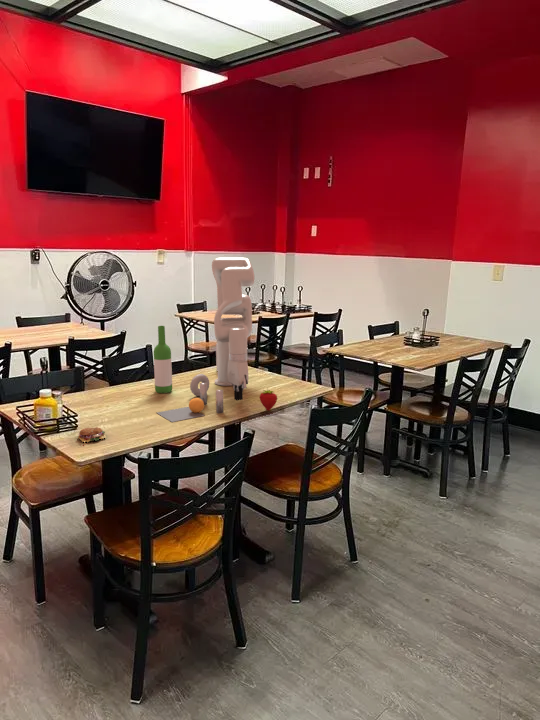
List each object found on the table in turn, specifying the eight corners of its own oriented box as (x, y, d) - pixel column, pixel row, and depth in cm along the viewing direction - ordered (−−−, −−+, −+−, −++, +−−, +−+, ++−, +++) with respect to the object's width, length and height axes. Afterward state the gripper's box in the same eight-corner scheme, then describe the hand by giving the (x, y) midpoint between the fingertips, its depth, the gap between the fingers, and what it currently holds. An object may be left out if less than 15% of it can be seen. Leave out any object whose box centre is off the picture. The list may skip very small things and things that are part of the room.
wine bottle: (174, 389, 246) (172, 325, 240) (168, 394, 238) (166, 327, 232) (158, 388, 247) (156, 324, 241) (152, 393, 240) (149, 327, 233)
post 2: (221, 410, 214) (220, 389, 212) (224, 412, 212) (224, 390, 210) (215, 412, 213) (214, 390, 211) (218, 413, 210) (218, 391, 209)
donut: (193, 399, 231) (193, 376, 229) (188, 397, 233) (188, 375, 231) (211, 394, 238) (210, 372, 236) (206, 393, 240) (205, 371, 238)
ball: (200, 396, 215) (188, 395, 212) (208, 401, 211) (196, 399, 207) (196, 410, 216) (184, 409, 212) (204, 415, 211) (192, 414, 208)
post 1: (205, 403, 225) (204, 382, 223) (208, 404, 223) (207, 383, 221) (199, 404, 223) (198, 383, 221) (202, 405, 221) (201, 384, 219)
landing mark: (188, 407, 219) (188, 406, 219) (204, 415, 208) (204, 415, 208) (156, 413, 211) (156, 412, 211) (171, 422, 200) (171, 421, 200)
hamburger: (62, 440, 183) (61, 423, 182) (102, 432, 191) (101, 416, 190) (75, 452, 172) (74, 434, 171) (117, 443, 180) (116, 426, 179)
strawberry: (272, 414, 210) (273, 389, 208) (256, 411, 214) (256, 387, 212) (280, 410, 215) (280, 386, 213) (263, 407, 219) (263, 384, 217)
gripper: (221, 355, 225) (221, 397, 229) (240, 361, 213) (240, 405, 217) (236, 353, 229) (236, 394, 233) (255, 359, 217) (255, 402, 221)
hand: (238, 399), depth 225 cm, fingers closed
